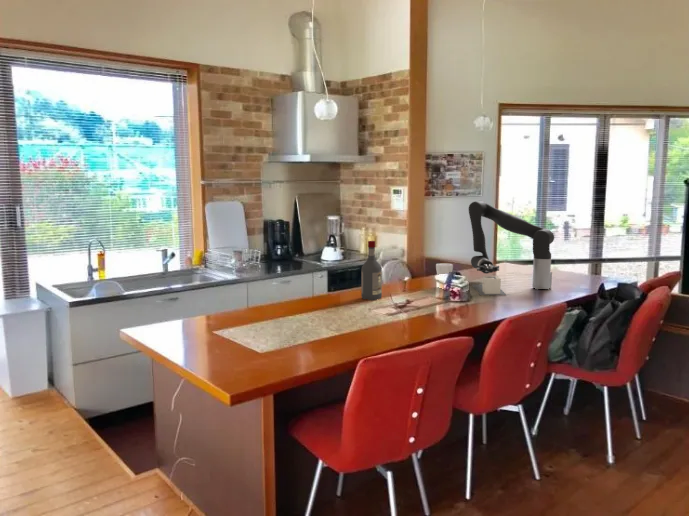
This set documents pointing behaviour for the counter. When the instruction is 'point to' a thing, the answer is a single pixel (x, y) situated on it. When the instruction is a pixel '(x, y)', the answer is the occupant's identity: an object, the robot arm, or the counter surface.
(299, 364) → the counter surface
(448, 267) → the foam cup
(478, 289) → the rubber mat
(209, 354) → the counter surface
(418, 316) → the counter surface
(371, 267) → the liquor
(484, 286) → the off-white cube
